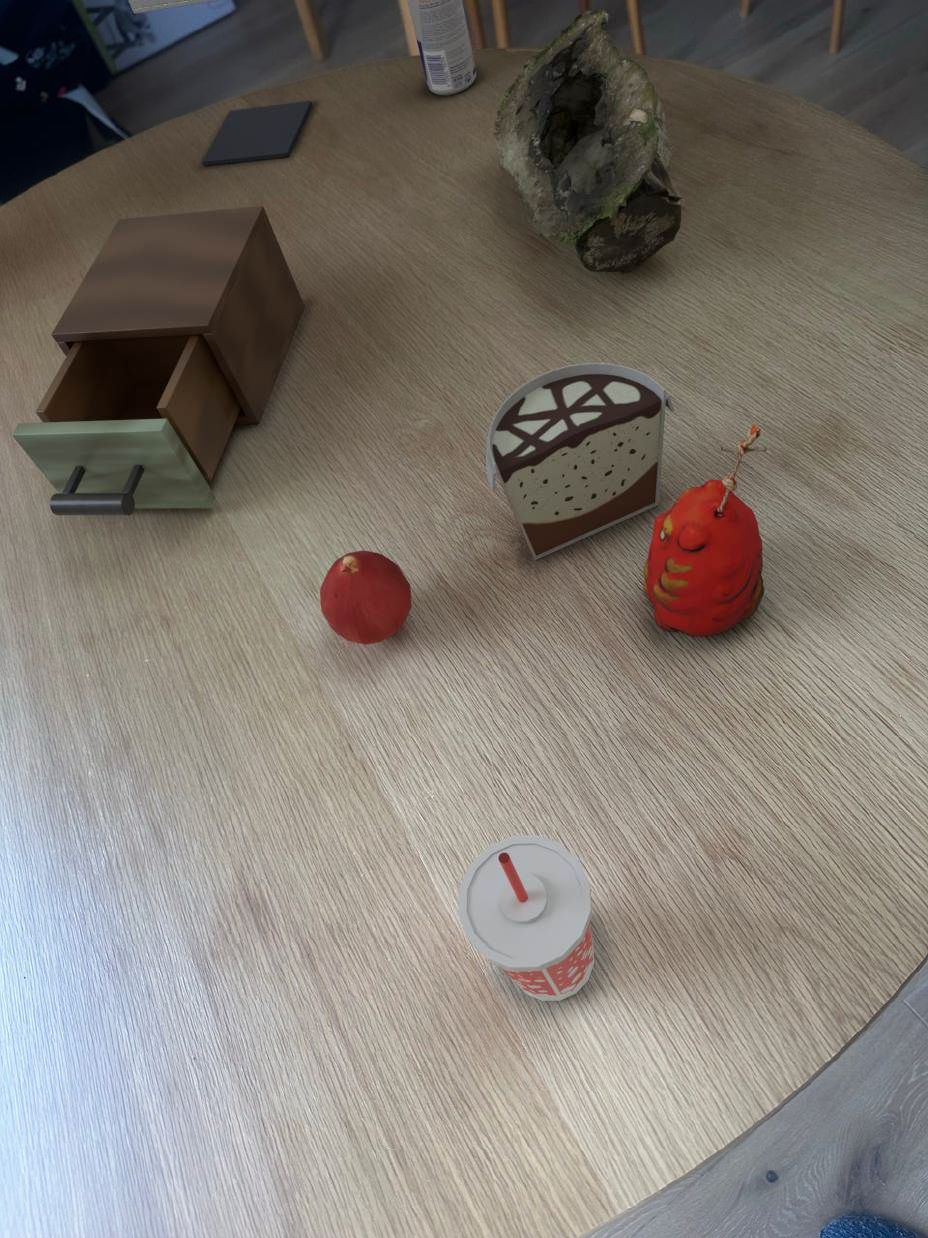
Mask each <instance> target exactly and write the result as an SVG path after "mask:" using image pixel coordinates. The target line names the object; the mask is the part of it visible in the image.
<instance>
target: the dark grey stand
mask: <svg viewBox="0 0 928 1238" xmlns="http://www.w3.org/2000/svg"><path fill="white" fill-rule="evenodd" d="M219 1H221V0H128V3H129V5H130V7H131V10H132V12H133V14H134V15H135V14H142V13H148V12H154V11H155V12H156V11H161V10H167V9H173V8H181V7H186V6H193V5H201V4H206V3H213V2H219Z"/></svg>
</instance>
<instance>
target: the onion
mask: <svg viewBox="0 0 928 1238" xmlns="http://www.w3.org/2000/svg"><path fill="white" fill-rule="evenodd" d="M325 574H326V575H325V577H324V579H323V581H322V583H321V585H320V589H319V601H320V603H319V604H320V610H321V613H322V615H323V617H324V618H325V620H326V623H328V625H329V627H330V628H331V630H333V632H334V633H335V634H336V635H337V636H340V637H341V638H343V639H344V640H346V641H347V642H351V643H354V644H361V645H372V644H373V645H374V644H378V643H381V642H384V641H385V640H387V639H389V638H390V637H392V636H393V635H395V634H396V633H397V632H398V631H399V630H400V629H401V628H402V627H403V626H404V624H405V622H406V620H407V618H408V616H409V613H410V612H411V609H412V589H411V584H410V582H409V580H408V578H407V577H406V575H405V574H404V572H403V571H402V569H401V568H400V566H399V565H398V564H397V563H396V562H395V561H393V560H391V558H389V557H387V556H385V555H384V554H382V553H379V552H375V551H369V550H358V551H352V552H348V553H346V554H344V555H342V556H341V557H339V558H338V559H336V560H335V561H334V562H333V563H332V565H331V567H330V568H329V569H328V570H327V572H326V573H325Z"/></svg>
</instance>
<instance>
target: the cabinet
mask: <svg viewBox="0 0 928 1238" xmlns="http://www.w3.org/2000/svg"><path fill="white" fill-rule="evenodd" d="M304 309H305V303H304V301H303V299H302V296H301V294H300V291H299V288H298V287H297V284H296V282H295V280H294V277H293V275H292V272H291V269H290V268H289V265H288V262H287V260H286V258H285V256H284V253H283V250H282V248H281V245H280V243H279V241H278V238H277V236H276V233H275V231H274V229H273V226H272V224H271V222H270V219H269V216H268V215H267V212H266V209H265V207H264V206H263V205H258V206H257V205H255V206H245V207H235V208H225V209H224V208H223V209H214V210H205V211H204V210H203V211H194V212H184V213H183V212H182V213H173V214H164V215H163V214H162V215H161V214H160V215H151V216H141V217H130V218H121V219H119V218H118V219H117V221H116V223H115V225H114V226H113V228H112V230H111V232H110V233H109V235H108V237H107V238H106V240H105V242H104V243H103V245H102V247H101V249H100V250H99V252H98V253H97V255H96V257H95V258H94V261H93V262H92V264H91V265H90V268H89V269H88V271H87V272H86V273H85V276H84V278H83V279H82V281H81V283H80V284H79V286H78V288H77V290H76V291H75V292H74V295H73V296H72V298H71V300H70V302H69V303H68V305H67V306H66V308H65V310H64V312H63V313H62V315H61V317H60V319H59V320H58V322H57V324H56V325H55V327H54V328H53V331H52V333H50V334H51V337H52V339H53V340H54V341H55V342H56V344H57V345H58V347H59V348H60V350H61V351H62V352H63V354H64V356H65V357H66V356H67V355H68V353H69V351H70V349H71V348H72V346H73V344H74V342H75V341H88V340H105V339H123V338H140V337H157V336H175V335H192V334H203V336H204V337H205V339H206V341H207V343H208V345H209V347H210V349H211V351H212V352H213V354H214V356H215V358H216V360H217V362H218V364H219V366H220V368H221V369H222V371H223V373H224V375H225V377H226V379H227V381H228V383H229V384H230V386H231V388H232V390H233V392H234V394H235V396H236V398H237V399H238V401H239V403H240V405H241V409H240V411H239V414H238V416H237V419H236V421H235V423H234V425H250V424H256V425H257V424H260V422H261V419H262V416H263V414H264V411H265V409H266V406H267V405H268V401H269V399H270V396H271V393H272V391H273V388H274V385H275V383H276V381H277V378H278V376H279V374H280V371H281V369H282V365H283V363H284V361H285V358H286V355H287V353H288V350H289V348H290V345H291V343H292V340H293V337H294V335H295V333H296V329H297V327H298V324H299V322H300V319H301V317H302V314H303V311H304Z"/></svg>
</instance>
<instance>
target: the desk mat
mask: <svg viewBox="0 0 928 1238" xmlns="http://www.w3.org/2000/svg"><path fill="white" fill-rule="evenodd" d="M312 106H313V103H312V101H311V100H308V101H299V102H291V103H283V104H282V103H281V104H275V105H267V106H258V107H251V108H243V109H235V110H229V111H228V113H227V116H226V117H225V120H224V121H223V123H222V125H221V127H220V128H219V131H218V132H217V134H216V135H215V137H214V139H213V141H212V144H211V145H210V146H209V148H208V151H207V152H206V155H205V156H204V158H203V160H202V165H203V167H207V166H208V167H209V166H217V165H226V164H227V165H228V164H235V163H244V162H252V161H263V160H264V161H265V160H271V159H280V158H281V159H282V158H289V157H290V154H291V152H292V150H293V148H294V146H295V143H296V141H297V139H298V137H299V135H300V133H301V130H302V128H303V126H304V125H305V122H306V120H307V117H308V115H309V113H310V111H311V109H312Z"/></svg>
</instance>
